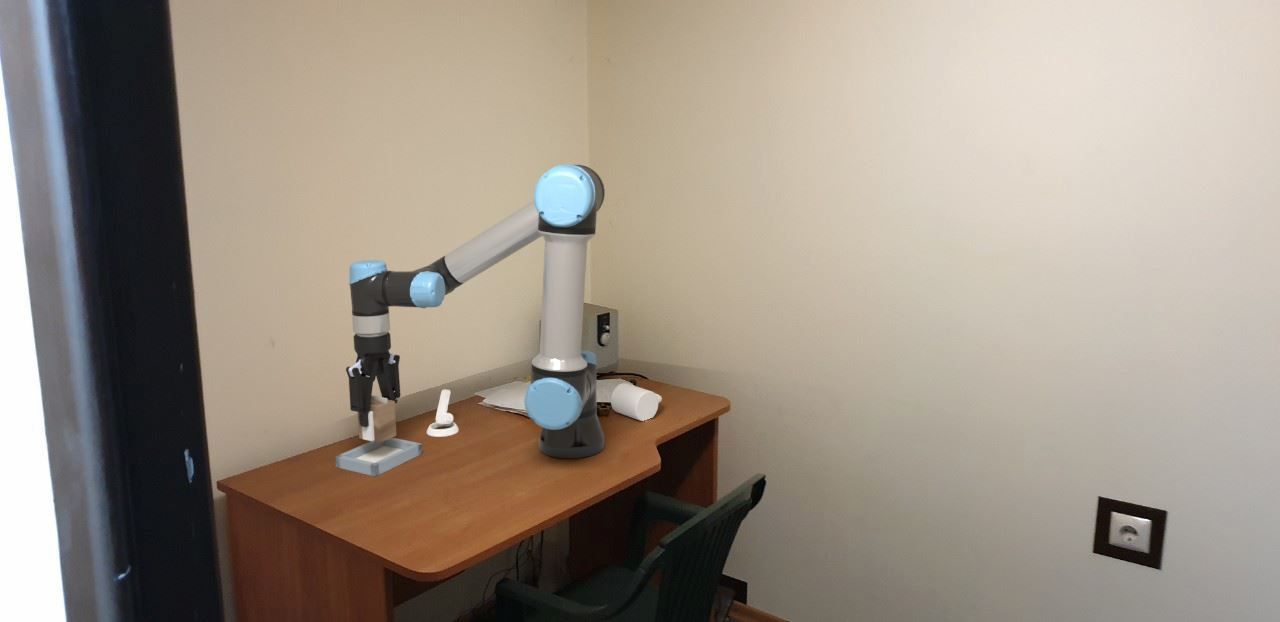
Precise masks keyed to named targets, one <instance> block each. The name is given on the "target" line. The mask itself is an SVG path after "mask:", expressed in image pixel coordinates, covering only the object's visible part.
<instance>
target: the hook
mask: <svg viewBox="0 0 1280 622" xmlns="http://www.w3.org/2000/svg"><path fill="white" fill-rule="evenodd" d="M451 394H452V393H451V390H450V389H442V390H441V392H440V396H439V402H438V404H437V410H436V414H435V415H436V416H435V422H433V423H431V424H429V426H428V428H427V429H426V435H428V436H430V437H435V438H437V437H438V438H439V437H440V438H441V437H443V438H444V437H448V436H453V435H456V434H457V433H458V432H459V427H458V425H457V424H456V422H454V419H455V418H454V415H453V414H452V413H450V412H448V409H449V408H448V407H449V403H450V397H451ZM443 427H446V428H443ZM437 428H438V429H437ZM439 428H440V429H439Z"/></svg>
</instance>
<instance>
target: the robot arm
mask: <svg viewBox="0 0 1280 622" xmlns="http://www.w3.org/2000/svg"><path fill="white" fill-rule="evenodd" d="M605 191H606V190H605V186H604V183H603V180H602V178H601V176H600V175H599V174H598V173H597V172H596V171H595V170H594V169H593V168H591V167H588V166H586V165H582V164H559V165H556V166H554V167H552V168H549V170H547V171H545V173H543V174H542V175H541V177H540V178H539V179H538V181H537V182H536V185H535V187H534V192H533V200H532V201H531V202H529V203H528V204H526V205H524V206H523V207H521V208H519V209H518V210H516V211H515V212H512V214H509V215H508V216H507V217H505V218H503V219H502V220H501V221H499V222H497V223H495V224H494V225H492V226H490V227H489V228H487V229H486V230H484V231H482V232H481V233H479V234H477V235H476V236H475V237H473V238H470V239H469V240H468V241H467V242H464V243H463V244H461V245H460V246H458V247H457V248H455V249H453V250H452V251H450V252H448V253H447V254H445V255H443V256H442V257H440V258H439V259H437V260H435V261H434V262H432V263H430V264H428V265H426V266H423V267H421V268H418V269H414V270H411V271H410V270H409V271H394V270H388V268H387V264H386V262H385V261H383V260H378V259H377V260H376V259H372V260H370V259H368V260H366V259H365V260H360V261H359V260H358V261H355V262H352V263H351V264H350V266H349V283H348V285H349V289H350V300H351V316H352V317H351V318H352V330H353V333H354V335H353V348H354V352H355V353H356V356H357V357H356V360H355V364H353V365H352V366H347V367H346V368H345V372H346V374H347V377H348V389H349V390H348V391H349V401H350V402H349V405H350V409H349V410H350V411H351V412H356V413H358V412H359V419H360V426H362V436H363V439H362V440H365V441H369V442H370V441H374V424H373V412H372V411H369V410H370V403H371V395H372V396H373V394H372V393H373V388H374V387H373V386H374V382H375V380H377V384H378V387H379V392H380V395H381V397H383V398H388V400H392V401H395V405H396V404H397V403H398V399H400V397H401V385H400V384H401V382H400V381H401V380H400V367H399V364H400V359H401V356H400V355H399V354H393V353H391V352H390V350H391V348H392V342H391V341H392V339H391V338H392V337H391V333H390V332H389V331H390V330H391V322H390V309H389V308H390V307H399V308H401V307H402V308H418V309H420V308H421V309H426V308H438V307H440V306H441V305H442V303H443V301H444V299H445V296H446V295H448V294H450V293H452V292H453V291H455V290H456V289H457V288H459V287H460V286H462V285H463V284H465V283H466V282H468V281H470V280H472V279H473V278H475V277H476V276H478V275H480V274H481V273H483V272H485V271H487V270H488V269H490V268H491V267H493V266H494V265H496V264H499V263H500V262H502V261H504V260H505V259H507V258H508V257H510V256H511V255H513V254H515V253H517V252H518V251H519V250H521V249H523V248H525V247H526V246H528V245H530V244H532V243H533V242H534V241H536V240H538V239H540V238H541V237H542V238H543V239H544V253H543V254H544V258H543V275H542V276H543V277H542V296H541V315H540V316H541V317H540V318H541V319H540V335H539V336H540V337H539V338H540V339H539V353H538V354H537V355H536V356H534V357H533V359H532V360H531V372H530V385H528V388H527V390H526V392H525V396H524V408H525V411H526V413H527V415H528V416H529V418H530V419H531V420H532V421H533V422H534V423H535V424H536V425H538V426H539V427H541V428H542V429H541V432H540V435H539V440H538V442H539V445H538V447H539V450H540V452H541V453H543V454H544V455H546V456H550V457H552V458H559V459H581V458H587V457H591V456H595V455H597V454H599V453H601V452H602V451H603V450H604V448H605V434H604V432H603V429H602V425H601V422H600V419H599V417H598V414H597V413H598V412H597V411H598V410H597V409H598V407H597V405H598V404H597V400H598V399H597V395H598V394H597V390H598V389H597V383H598V382H597V366H598V363H597V356H596V354H595V353H594V352H593V351H590V350H588V349H587V350H584V349H582V338H583V337H582V336H583V321H584V320H583V319H584V303H585V289H586V288H585V287H586V286H585V285H586V284H585V283H586V272H587V271H586V270H587V269H586V268H587V254H588V252H587V250H588V243H589V241H591V239H592V238H594V237H595V236H596V229H597V216H598V215H597V214H598V213H597V212H599V211H600V209H601V207H602V206H603V203H604V201H605V195H606V193H605ZM363 405H364V407H363Z"/></svg>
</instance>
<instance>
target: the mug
mask: <svg viewBox="0 0 1280 622" xmlns="http://www.w3.org/2000/svg"><path fill="white" fill-rule="evenodd" d="M662 401H663V398H662V396H661V395H660V394H658V393H655V392H654V391H651V390H648V389H647V388H646V389H645V388H643V387H639V386H637V385H632V384H631V383H626V382H624V383H620V384H618V385H617V386H616V387H615V388H614V389H613V391H612V394H611V397H610V404H611V407H612V410H613V411H615V412H616V413H619V414H620V415H624V416H626V417H629V418H632V419H635V420H638V421H640V422H644V420H647V419H650V418H652V419H653V418H654V417H655V415H656V413H657V411H658V408H659V403H661V402H662ZM650 420H651V419H650Z"/></svg>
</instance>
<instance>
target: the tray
mask: <svg viewBox="0 0 1280 622" xmlns="http://www.w3.org/2000/svg"><path fill="white" fill-rule="evenodd" d="M420 455H423V444H422V443H420V442H416V441H411V440H405V439H402V438H396V437H392V438H390V439H387V440H385V441H383V442H381V443H379V442H374V441H369V442H366V443H364V444H361V445H359V446H357V447H354V448H352V449H350V450H348V451H345V452H343V453H340V454H338V455H335V457H334V461H335V468H338V469H343V470H346V471H350V472H354V473H358V474H364V475H366V476H371V477H378V476H380V475H381V474H384V473H385V472H388V471H390V470H392V469H393V468H396V467H398V466H401V465H402V464H404V463H405V462H408V461H411V460H412V459H415V458H416V457H418V456H420Z"/></svg>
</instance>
